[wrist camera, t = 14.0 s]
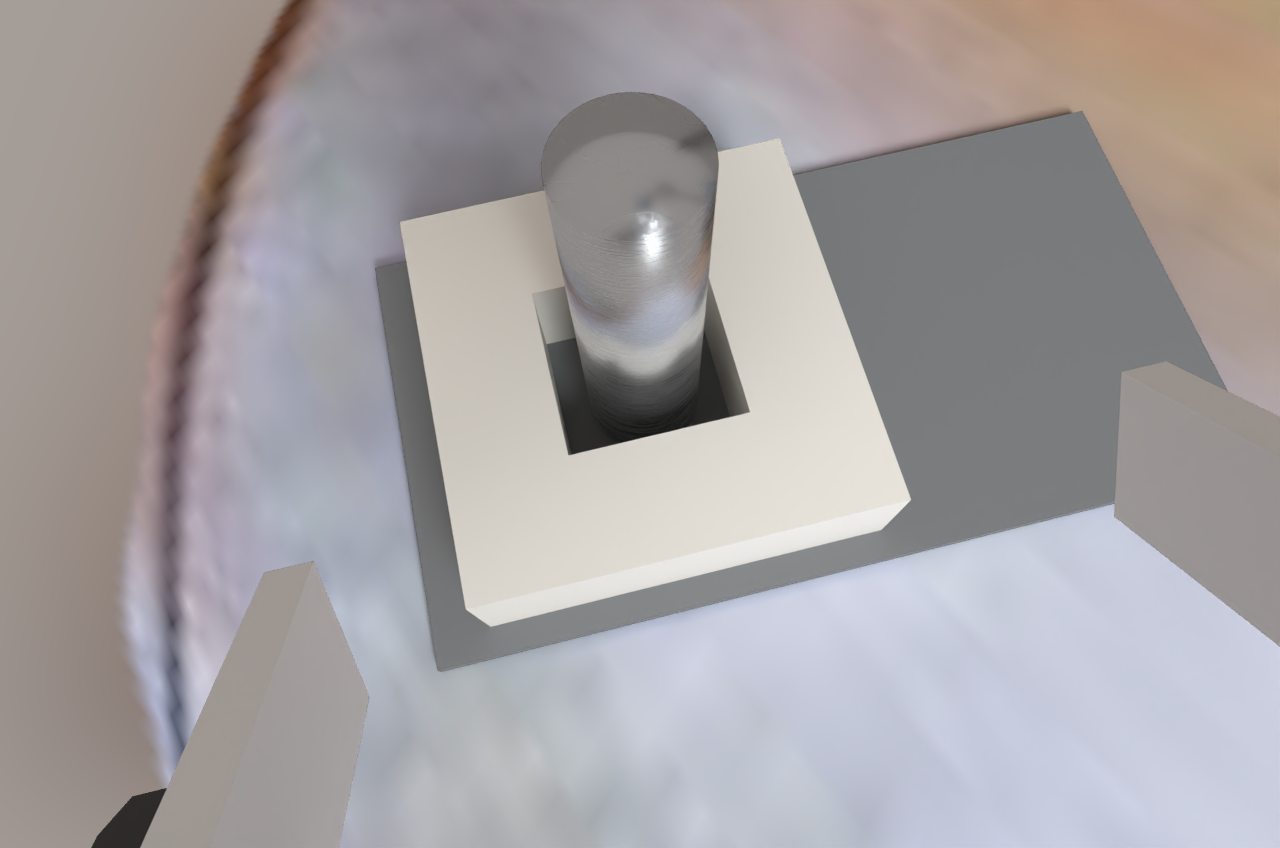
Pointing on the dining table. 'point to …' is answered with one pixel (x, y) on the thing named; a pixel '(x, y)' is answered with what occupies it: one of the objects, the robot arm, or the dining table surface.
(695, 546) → the hole block
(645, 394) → the pin
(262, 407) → the dining table surface
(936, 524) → the mat
